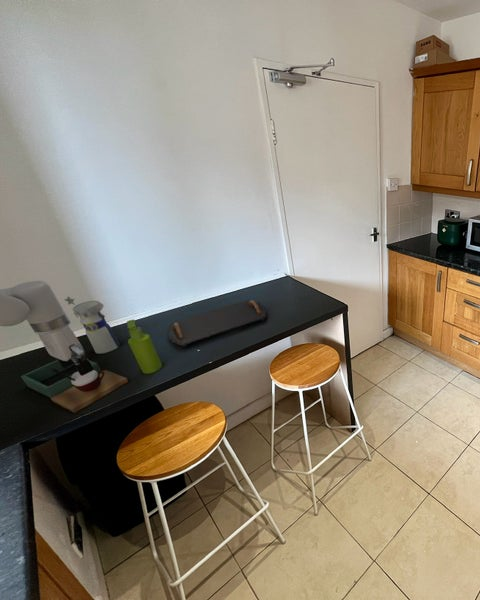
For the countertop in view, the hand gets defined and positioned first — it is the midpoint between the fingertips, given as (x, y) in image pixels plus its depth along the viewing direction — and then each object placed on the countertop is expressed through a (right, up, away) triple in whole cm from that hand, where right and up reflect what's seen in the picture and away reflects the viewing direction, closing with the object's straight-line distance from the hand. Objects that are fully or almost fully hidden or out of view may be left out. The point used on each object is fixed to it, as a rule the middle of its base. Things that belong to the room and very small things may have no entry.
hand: (78, 368), depth 99 cm
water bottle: (-15, +3, +26) cm, 30 cm away
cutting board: (0, -8, +4) cm, 9 cm away
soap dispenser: (+12, -3, +14) cm, 19 cm away
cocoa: (0, -7, +4) cm, 8 cm away
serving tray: (+22, +10, +41) cm, 48 cm away
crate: (-14, -6, +9) cm, 18 cm away
